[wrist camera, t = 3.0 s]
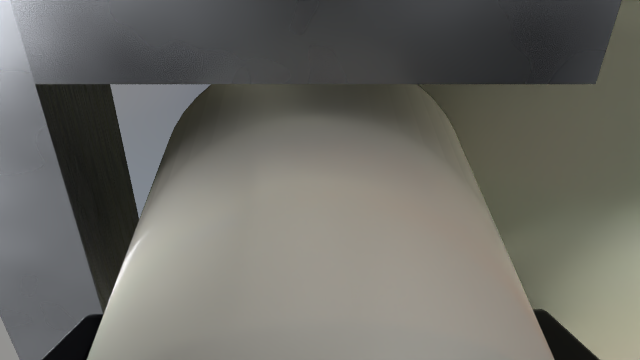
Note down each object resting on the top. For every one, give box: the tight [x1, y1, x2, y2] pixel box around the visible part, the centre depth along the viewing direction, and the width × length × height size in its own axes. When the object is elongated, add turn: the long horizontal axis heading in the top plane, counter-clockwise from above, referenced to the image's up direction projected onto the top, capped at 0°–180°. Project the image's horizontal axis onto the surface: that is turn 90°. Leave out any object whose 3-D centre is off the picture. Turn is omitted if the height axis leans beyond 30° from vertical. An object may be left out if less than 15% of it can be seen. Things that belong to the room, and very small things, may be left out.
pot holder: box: [0, 0, 622, 360], centre depth 12 cm, size 10×12×3 cm
